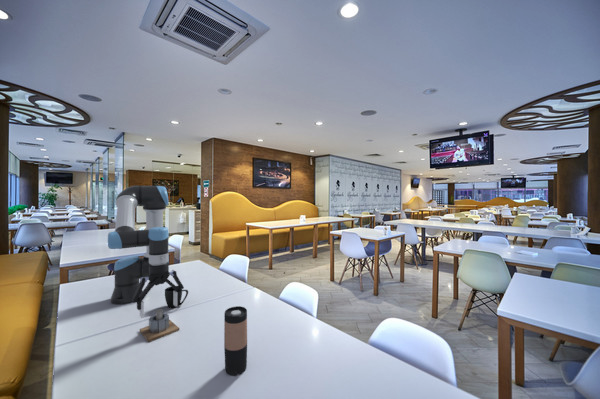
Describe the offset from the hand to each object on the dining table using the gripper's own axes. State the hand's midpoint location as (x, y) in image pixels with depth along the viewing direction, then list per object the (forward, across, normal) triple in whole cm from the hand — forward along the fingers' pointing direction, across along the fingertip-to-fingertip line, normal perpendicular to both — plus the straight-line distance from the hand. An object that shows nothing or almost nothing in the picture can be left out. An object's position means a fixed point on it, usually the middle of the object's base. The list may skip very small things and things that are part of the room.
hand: (159, 310), depth 110 cm
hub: (+8, 0, -1) cm, 8 cm away
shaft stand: (+9, 0, -1) cm, 9 cm away
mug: (+9, +15, +18) cm, 25 cm away
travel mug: (+8, +9, -46) cm, 47 cm away
